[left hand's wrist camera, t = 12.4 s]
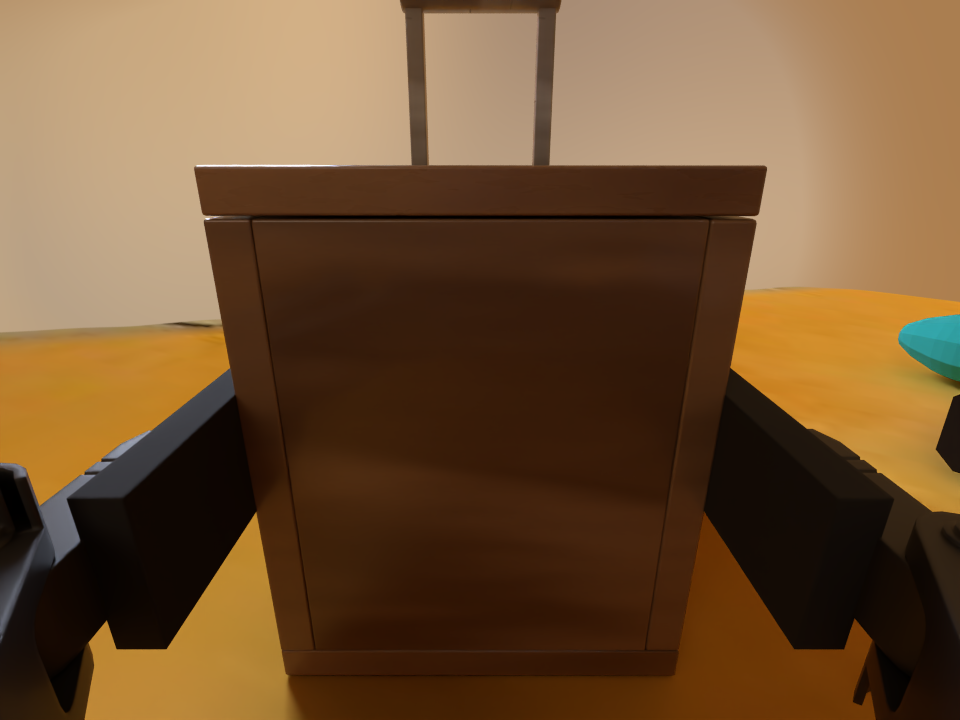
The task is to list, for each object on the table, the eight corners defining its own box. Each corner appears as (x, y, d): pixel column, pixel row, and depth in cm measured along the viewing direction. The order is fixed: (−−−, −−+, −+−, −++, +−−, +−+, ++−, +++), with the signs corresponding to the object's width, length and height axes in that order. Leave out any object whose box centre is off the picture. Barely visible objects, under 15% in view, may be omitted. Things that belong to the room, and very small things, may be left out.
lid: (383, 186, 25) (370, -30, 22) (577, 186, 25) (591, -30, 22) (201, 216, 9) (49, -613, 6) (759, 216, 9) (912, -613, 6)
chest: (393, 394, 28) (380, 187, 24) (566, 394, 28) (580, 187, 24) (285, 675, 13) (202, 219, 9) (675, 676, 13) (758, 219, 9)
